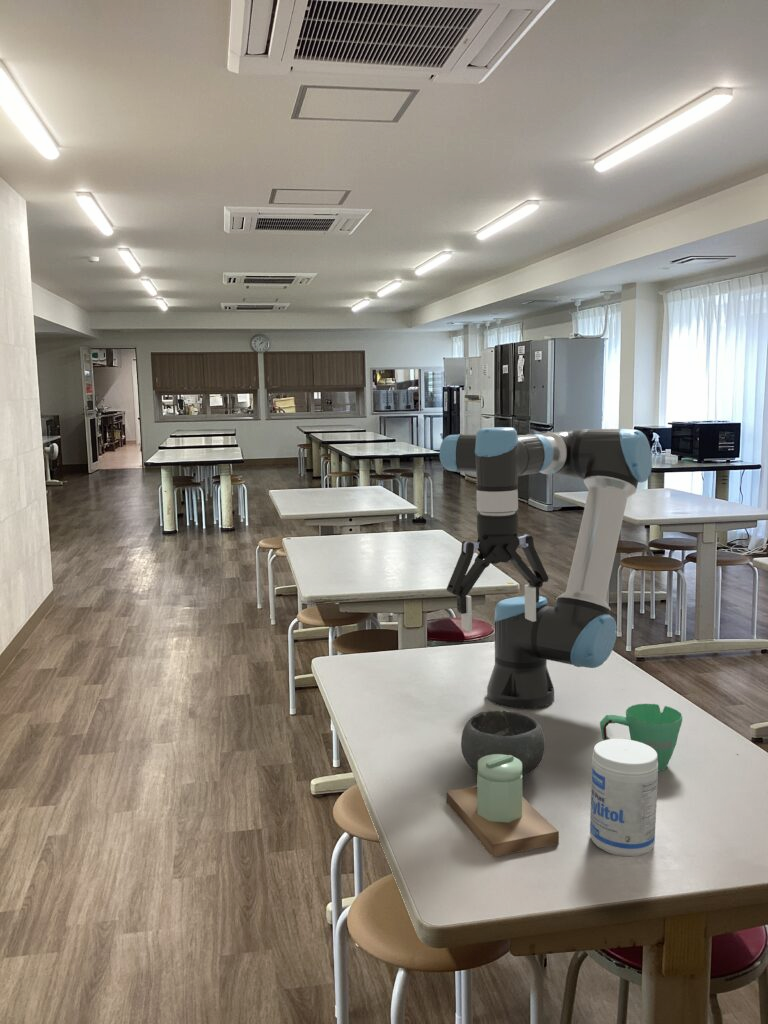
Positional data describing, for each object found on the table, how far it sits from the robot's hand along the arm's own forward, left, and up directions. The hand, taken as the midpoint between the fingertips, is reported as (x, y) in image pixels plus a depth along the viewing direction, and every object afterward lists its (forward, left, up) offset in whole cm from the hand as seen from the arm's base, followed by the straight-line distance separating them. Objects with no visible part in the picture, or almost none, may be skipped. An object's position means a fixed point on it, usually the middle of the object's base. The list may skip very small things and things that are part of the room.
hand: (499, 624), depth 155 cm
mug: (-22, +13, -26) cm, 36 cm away
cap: (+11, +23, -24) cm, 35 cm away
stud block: (+11, +23, -26) cm, 36 cm away
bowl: (+3, +8, -26) cm, 27 cm away
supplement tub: (-4, +35, -26) cm, 44 cm away
